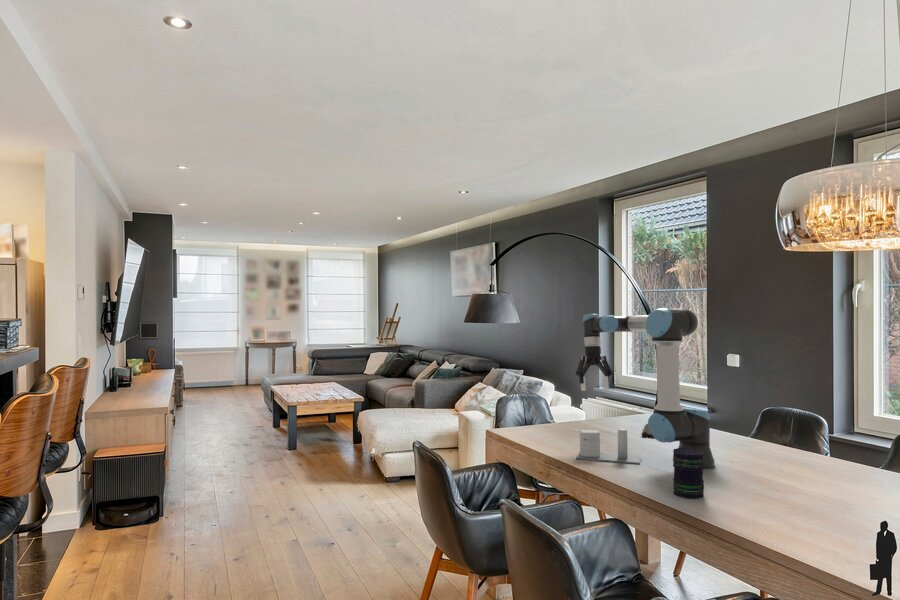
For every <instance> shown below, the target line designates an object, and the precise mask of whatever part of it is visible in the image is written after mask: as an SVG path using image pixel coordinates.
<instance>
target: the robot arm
mask: <svg viewBox="0 0 900 600" xmlns="http://www.w3.org/2000/svg"><path fill="white" fill-rule="evenodd" d="M582 319H583V321H582V325H583V336H584V337H583V339H584V346H585V347H584V353H585V355H580V356H579V357H580V358H579V363H578V366H577V368H576V371H575V376H576V377H578V379H579V384H580V389H581V391H583V392H584V391H587V386H586V385H587V384H586V383H587V382H586V376H585V374H586V373H587V371H588V370H589V368H590V367H591V366H597V367H598V368H599V370H600V371H601V373H602V374H603V375H604V376H602V377H603V380H602V381H603V390H604V391H609V390H610V386H609V385H610V384H609V383H610V376H611V375H613V372H612V369H611V367H610V364H609V362H608V360H607V356H606V355H601V354H602V348H601V333H619V332H620V333H621V332H622V333H623V332H624V333H625V332H626V333H632V332H634V333H635V332H640V333H641V332H647V335H648V336H650V337H651V341H652V343H653V344H654V345H655V351H656V352H655V353H656V356H655V357H656V384H657V385H656V387H657V388H656V389H657V390H656V391H657V392H656V393H657V397H656V398H657V404H656V405H655V406H654V407H653V413H652V414H651V415H650V416H649V418H648V420H647V424H648V428H649V431H650V433H651V435H653V437H654V438H653V439H655V440H656V441H658V442H660V443H669V444H671V443H673V442H678V443H679V445H678V447H677V448H690V449H696V450H700V451H702V452H703V460H704V464H703V466H704V467H703V469H711V468H713V467H715V465H716V463H715V458H714V456H713V451H712V449H711V446H710V444H711V443H710V442H711V440H710V439H711V438H710V436H711V435H710V434H711V432H710V430H711V429H710V428H711V427H710V422H711V419H710V413H709V411H708V410H706V409H702V408H695V407H690V406H689V407H687V406H682V405H681V391H680V390H681V389H680V357H679V356H680V355H679V354H680V353H679V346H680V344H682V343H683V337H688V336H690V335H693V333H695V331H696V330H697V328H698V325H699V320H698V317H697V315H696V314H695V313H694V312H693V311H692V310H691V309H688V308H665V307H663V308H656V309H654V310H652V311H650V313H649V314H648V315H647V314H643V315H620V316H619V315H616V316H615V315H611V314H609V315H608V314H607V315H604V316H600V315H599V314H598V313H587V314H584V315H583V317H582Z"/></svg>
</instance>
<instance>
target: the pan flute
mask: <svg viewBox="0 0 900 600" xmlns="http://www.w3.org/2000/svg"><path fill="white" fill-rule="evenodd" d="M641 436H642V437H641V438H646V437H648V438H650V437H651V438H650V439H655V438H654V437H653V435H651V433H650V431H649V428H648V423H646V424H645V425H644V427H643V429H642V432H641Z"/></svg>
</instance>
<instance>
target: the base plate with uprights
mask: <svg viewBox="0 0 900 600" xmlns="http://www.w3.org/2000/svg"><path fill="white" fill-rule="evenodd" d="M628 450H629V449H628V429H625V428H618V429H617V453H605V452H600V457H582V456H581V454H580V450H579V451H578V453H577V455H576V458H575V460H581V461H582V460H583V461H593V460H596V461H597V462H606V461H608V462H607V463H618V462H619V464H631V463H632V464H633V465H640V464H641V463H640V462H641V455H633V454H631V455H630V454H628ZM596 461H595V462H596Z"/></svg>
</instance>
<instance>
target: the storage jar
mask: <svg viewBox="0 0 900 600" xmlns="http://www.w3.org/2000/svg"><path fill="white" fill-rule="evenodd" d="M672 450H673V451H672V452H673V455H672V461H673V462H672V466H673V477H672V478H673V479H672V480H673V481H672V485H673V495H674V496H676V497H678V498H682V499H685V500H687V499H688V500H700V498H701V499H703V498H704V497H705V496H704V495H705V494H704V492H705V491H704V490H705V486H704V485H705V484H704V483H705V482H704V477H703V476H704V475H703V473H704V471H703V470H704V468H703V467H704V466H703V464H704V460H703V452H702V451H700V450H696V449H690V448H678V447H677V448H673V449H672Z"/></svg>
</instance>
